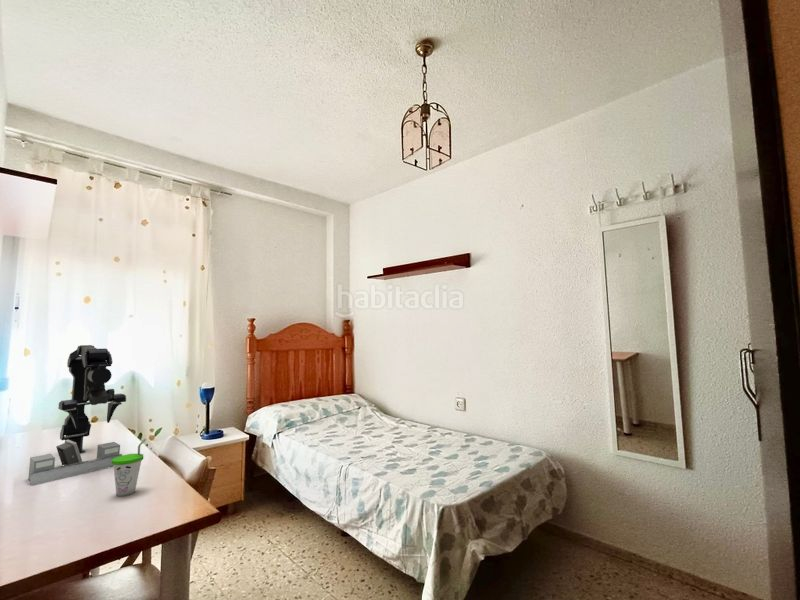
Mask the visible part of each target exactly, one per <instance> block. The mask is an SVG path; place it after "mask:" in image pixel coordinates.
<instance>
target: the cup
mask: <svg viewBox="0 0 800 600" xmlns="http://www.w3.org/2000/svg"><path fill="white" fill-rule="evenodd" d="M146 441H147V439H146V438H144V439H143V440H142V441H141V442H140V443H139V444H138V446H137V453H128V454H122V456H119V457H116V458H114V459H112V464H113V465H114V467H113V472H114V473H113V474H114V484H115V495H116V497H127V496H130V495H132V494H135V492H136V488H137V484H138V481H139V480H138V479H139V474H140V469H141V468H140V467H141V465H142V460H144V453H141V445H143V443H144V442H146Z"/></svg>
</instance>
